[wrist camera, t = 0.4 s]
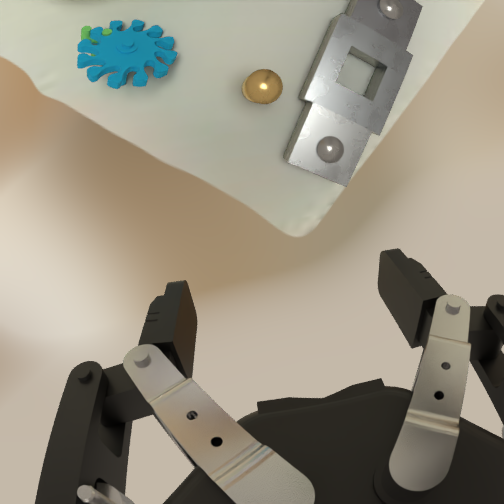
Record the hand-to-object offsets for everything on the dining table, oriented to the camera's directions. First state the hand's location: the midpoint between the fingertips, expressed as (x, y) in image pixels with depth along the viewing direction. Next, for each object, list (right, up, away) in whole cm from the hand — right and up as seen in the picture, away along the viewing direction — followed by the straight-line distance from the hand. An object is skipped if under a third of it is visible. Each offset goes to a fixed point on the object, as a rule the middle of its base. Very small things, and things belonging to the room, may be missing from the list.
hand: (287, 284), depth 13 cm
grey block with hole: (+10, +21, +17) cm, 29 cm away
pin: (-1, +18, +18) cm, 26 cm away
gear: (-14, +22, +15) cm, 30 cm away
